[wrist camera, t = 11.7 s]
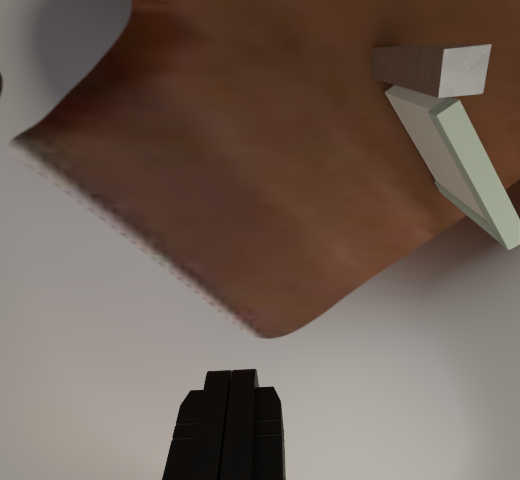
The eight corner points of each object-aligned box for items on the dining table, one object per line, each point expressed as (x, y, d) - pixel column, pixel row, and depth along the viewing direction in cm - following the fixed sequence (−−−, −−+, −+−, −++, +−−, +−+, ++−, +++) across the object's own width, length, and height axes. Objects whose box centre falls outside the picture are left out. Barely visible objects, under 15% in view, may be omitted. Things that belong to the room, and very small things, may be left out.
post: (372, 48, 35) (444, 49, 21) (400, 45, 35) (491, 44, 21) (370, 77, 36) (438, 98, 22) (397, 75, 36) (483, 93, 22)
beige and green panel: (382, 93, 36) (436, 115, 24) (397, 82, 35) (459, 99, 24) (440, 193, 40) (508, 250, 29) (454, 184, 40) (529, 238, 28)
